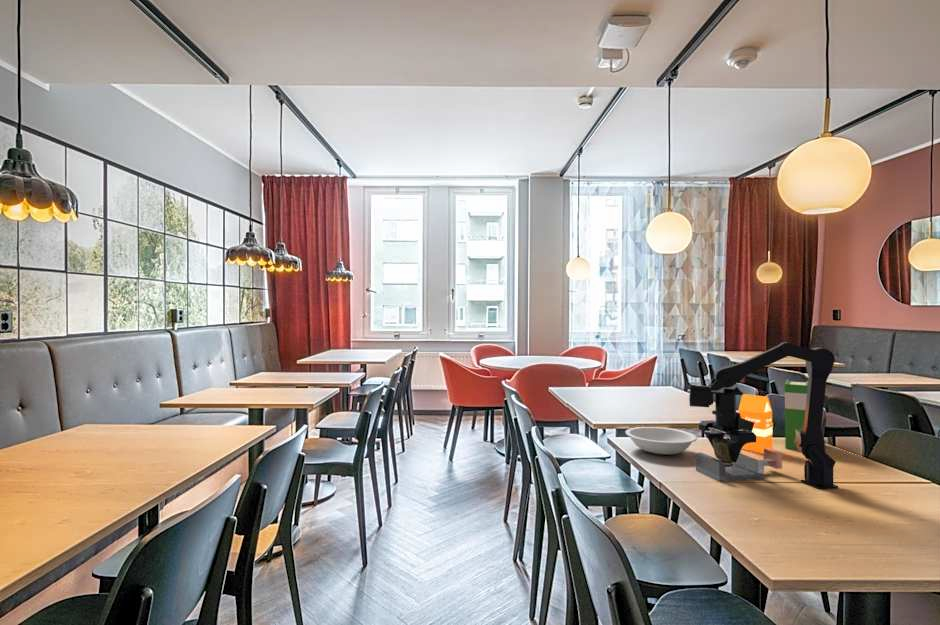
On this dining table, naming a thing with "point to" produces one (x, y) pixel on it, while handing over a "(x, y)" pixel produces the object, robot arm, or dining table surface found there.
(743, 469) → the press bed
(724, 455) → the ornate bronze lampshade
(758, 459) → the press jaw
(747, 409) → the orange juice
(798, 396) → the hardback book
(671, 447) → the soup bowl
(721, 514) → the dining table surface
